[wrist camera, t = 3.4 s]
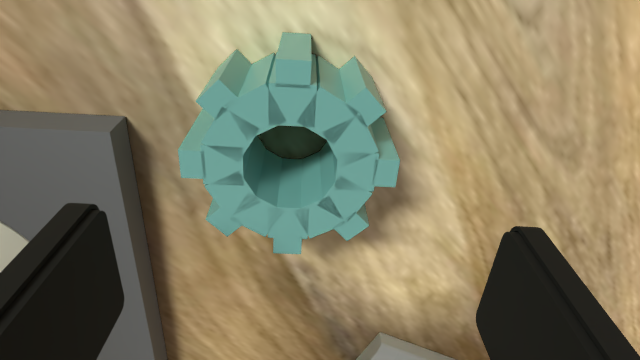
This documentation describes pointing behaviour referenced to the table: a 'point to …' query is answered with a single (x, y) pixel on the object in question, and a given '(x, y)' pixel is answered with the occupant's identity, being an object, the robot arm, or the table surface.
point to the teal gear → (290, 174)
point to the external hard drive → (397, 350)
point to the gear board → (81, 187)
